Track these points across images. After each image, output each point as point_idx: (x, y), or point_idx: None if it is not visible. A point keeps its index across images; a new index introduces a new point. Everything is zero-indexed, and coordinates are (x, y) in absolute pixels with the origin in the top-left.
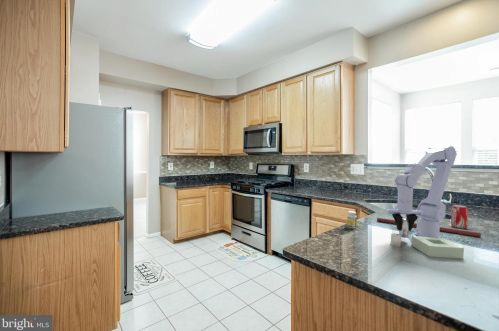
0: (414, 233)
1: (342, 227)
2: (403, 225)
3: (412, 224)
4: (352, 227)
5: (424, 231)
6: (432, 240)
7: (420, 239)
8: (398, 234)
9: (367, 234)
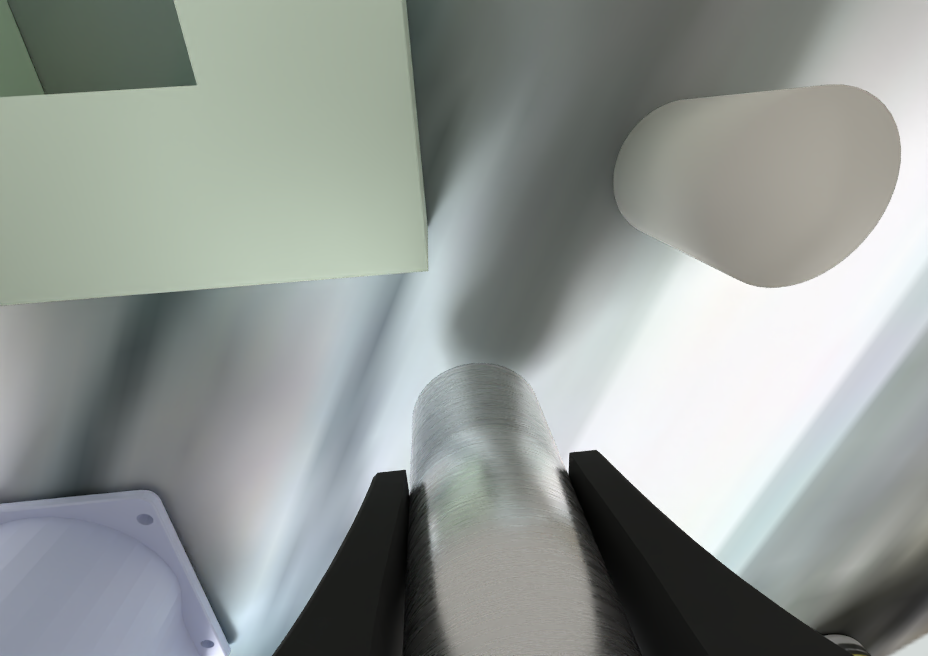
0: (229, 652)
1: (915, 632)
2: (570, 538)
3: (329, 601)
4: (841, 642)
5: (97, 632)
6: (38, 98)
7: (335, 9)
8: (728, 235)
9: (795, 503)
